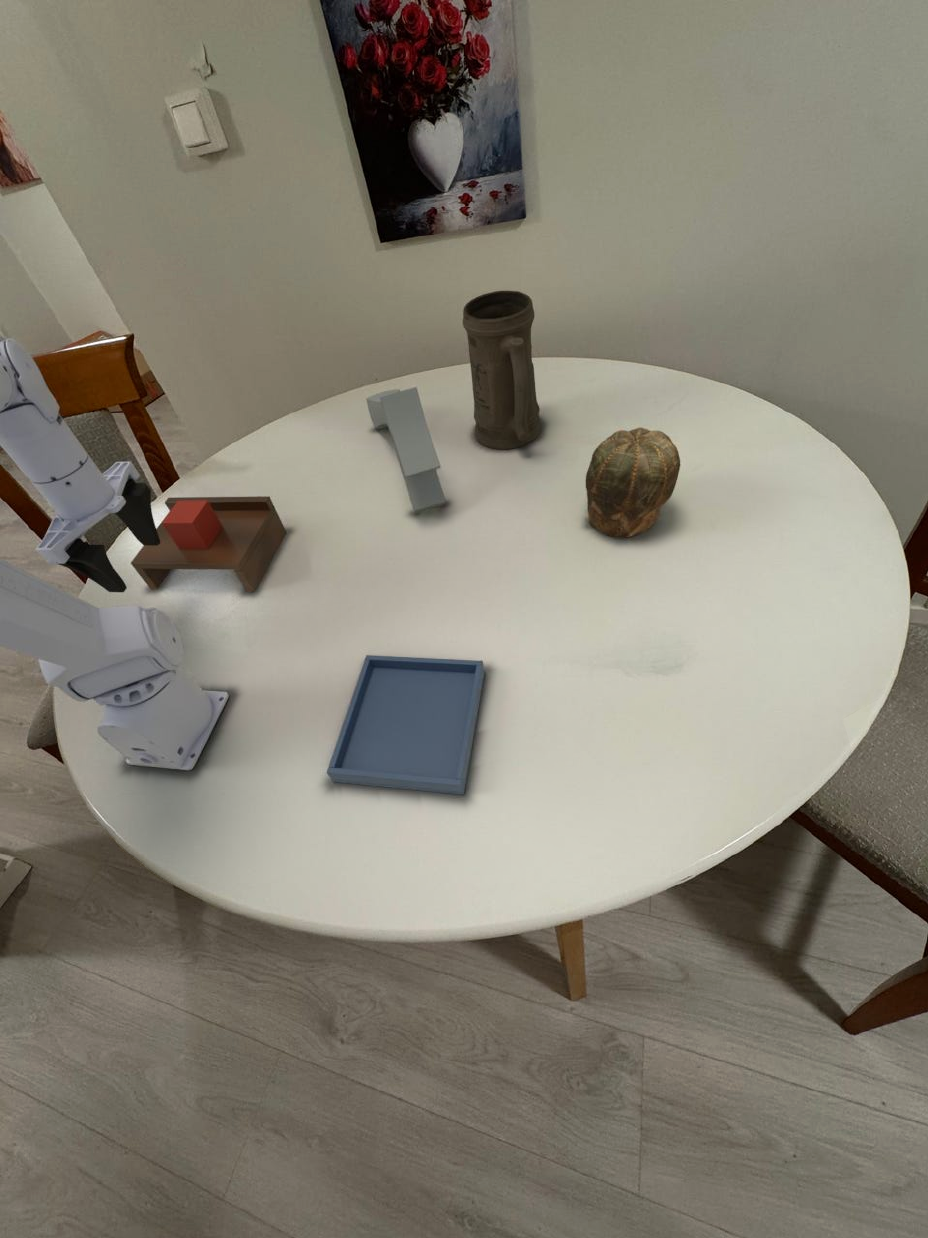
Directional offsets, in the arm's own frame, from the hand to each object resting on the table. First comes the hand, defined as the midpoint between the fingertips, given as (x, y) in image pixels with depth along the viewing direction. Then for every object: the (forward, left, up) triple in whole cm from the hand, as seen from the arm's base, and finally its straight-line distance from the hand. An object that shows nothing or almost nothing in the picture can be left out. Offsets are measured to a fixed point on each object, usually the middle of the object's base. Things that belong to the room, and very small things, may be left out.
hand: (135, 566), depth 67 cm
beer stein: (+41, -39, -11) cm, 58 cm away
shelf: (+12, 0, -10) cm, 16 cm away
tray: (-12, -34, -10) cm, 38 cm away
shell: (+21, -56, -11) cm, 61 cm away
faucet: (+34, -23, -11) cm, 42 cm away
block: (+11, 0, -5) cm, 12 cm away
